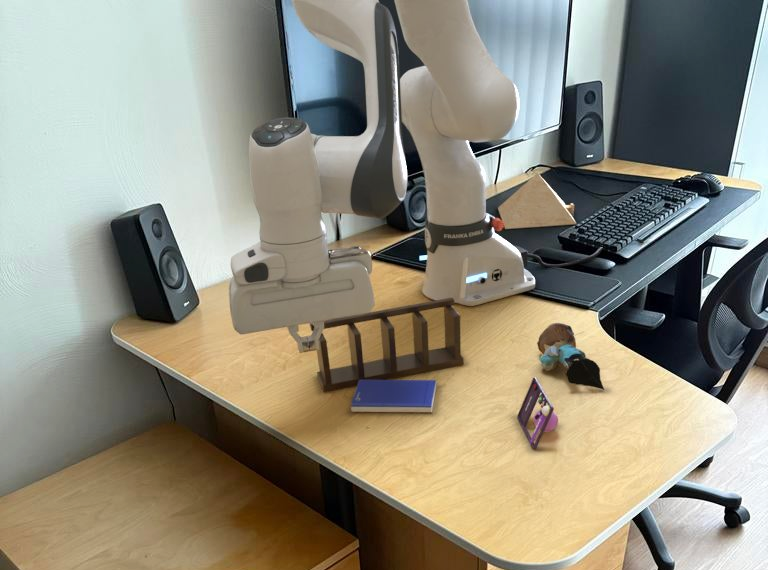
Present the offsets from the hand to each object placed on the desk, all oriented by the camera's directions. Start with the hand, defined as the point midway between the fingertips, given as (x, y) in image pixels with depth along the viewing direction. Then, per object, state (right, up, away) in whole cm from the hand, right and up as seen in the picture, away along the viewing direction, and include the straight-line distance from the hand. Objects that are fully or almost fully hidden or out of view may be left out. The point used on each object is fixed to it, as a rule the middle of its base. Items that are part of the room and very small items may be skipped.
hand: (308, 350), depth 111 cm
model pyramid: (+48, +48, +75) cm, 101 cm away
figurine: (+40, -1, +12) cm, 42 cm away
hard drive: (+13, -6, +9) cm, 17 cm away
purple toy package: (+34, -12, -1) cm, 36 cm away
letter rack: (+12, 0, +16) cm, 20 cm away
